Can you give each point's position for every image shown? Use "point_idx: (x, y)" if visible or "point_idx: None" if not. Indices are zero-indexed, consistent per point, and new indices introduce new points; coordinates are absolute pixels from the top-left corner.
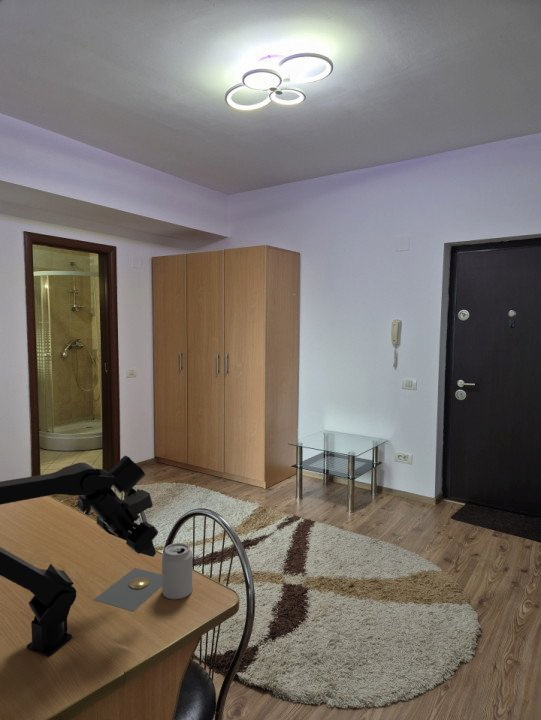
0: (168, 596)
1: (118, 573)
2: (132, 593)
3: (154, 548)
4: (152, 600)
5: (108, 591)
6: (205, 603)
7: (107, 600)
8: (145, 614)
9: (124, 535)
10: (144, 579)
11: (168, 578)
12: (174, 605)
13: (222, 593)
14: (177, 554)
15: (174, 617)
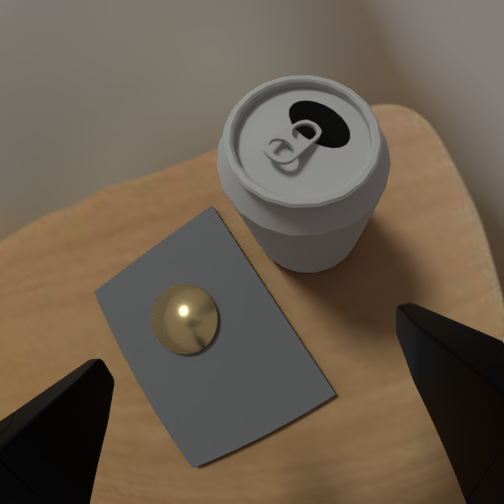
0: (337, 263)
1: (89, 342)
2: (228, 361)
3: (457, 323)
4: (297, 312)
5: (172, 418)
6: (402, 172)
7: (221, 440)
8: (361, 359)
9: (75, 463)
10: (176, 295)
11: (344, 246)
12: (367, 257)
13: (374, 114)
14: (378, 154)
15: (424, 281)
